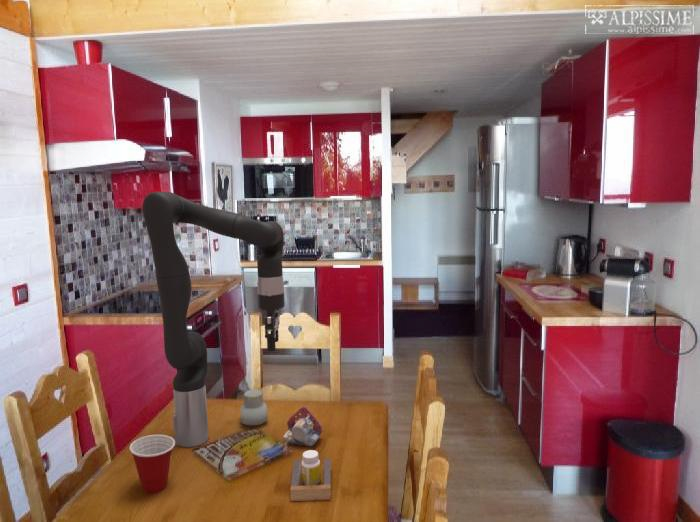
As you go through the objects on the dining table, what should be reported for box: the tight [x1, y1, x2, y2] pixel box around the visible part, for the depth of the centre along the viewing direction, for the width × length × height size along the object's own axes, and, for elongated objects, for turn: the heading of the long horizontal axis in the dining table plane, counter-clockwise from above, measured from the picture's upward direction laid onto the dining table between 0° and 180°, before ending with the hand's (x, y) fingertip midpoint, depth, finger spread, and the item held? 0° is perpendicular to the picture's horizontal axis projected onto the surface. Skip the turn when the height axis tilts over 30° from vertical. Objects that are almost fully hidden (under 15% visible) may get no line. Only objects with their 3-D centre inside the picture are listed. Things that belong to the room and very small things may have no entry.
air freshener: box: [240, 389, 269, 426], centre depth 163 cm, size 11×8×10 cm
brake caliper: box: [282, 405, 323, 447], centre depth 149 cm, size 11×11×12 cm
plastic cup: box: [129, 434, 176, 494], centre depth 127 cm, size 11×11×12 cm
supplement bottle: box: [300, 449, 322, 486], centre depth 127 cm, size 5×5×8 cm
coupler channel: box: [289, 458, 332, 502], centre depth 128 cm, size 10×14×3 cm
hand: (273, 346), depth 145 cm, fingers open, 8 cm apart
